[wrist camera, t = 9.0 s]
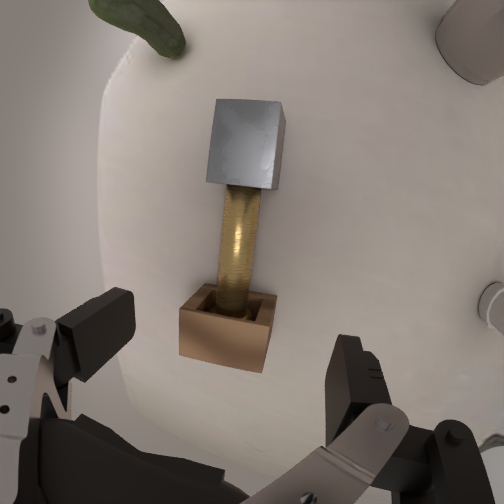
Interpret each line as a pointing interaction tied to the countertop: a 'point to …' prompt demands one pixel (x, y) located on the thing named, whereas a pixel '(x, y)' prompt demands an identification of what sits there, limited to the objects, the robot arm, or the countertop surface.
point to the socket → (226, 331)
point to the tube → (237, 251)
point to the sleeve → (246, 143)
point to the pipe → (493, 307)
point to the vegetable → (143, 22)
